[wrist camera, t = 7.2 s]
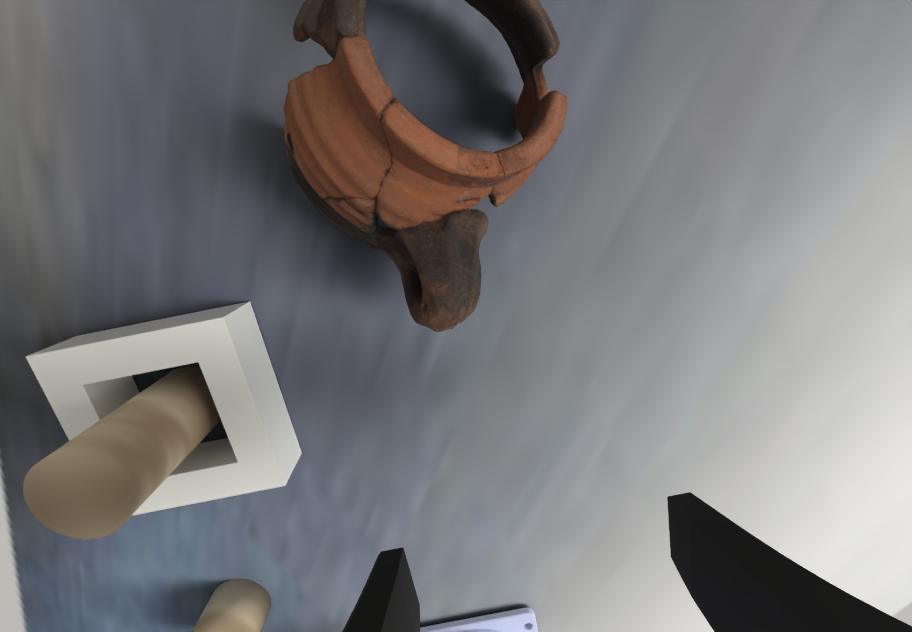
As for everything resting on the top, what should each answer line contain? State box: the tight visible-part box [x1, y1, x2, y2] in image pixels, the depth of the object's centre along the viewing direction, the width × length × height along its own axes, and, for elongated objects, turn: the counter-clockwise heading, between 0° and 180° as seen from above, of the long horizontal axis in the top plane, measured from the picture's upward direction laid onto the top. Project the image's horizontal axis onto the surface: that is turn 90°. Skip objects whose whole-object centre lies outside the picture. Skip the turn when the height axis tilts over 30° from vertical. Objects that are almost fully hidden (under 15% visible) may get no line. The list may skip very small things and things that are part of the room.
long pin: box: [23, 366, 221, 539], centre depth 17 cm, size 3×3×7 cm
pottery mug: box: [284, 0, 567, 332], centre depth 16 cm, size 12×9×8 cm
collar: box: [26, 301, 302, 515], centre depth 19 cm, size 8×8×2 cm
